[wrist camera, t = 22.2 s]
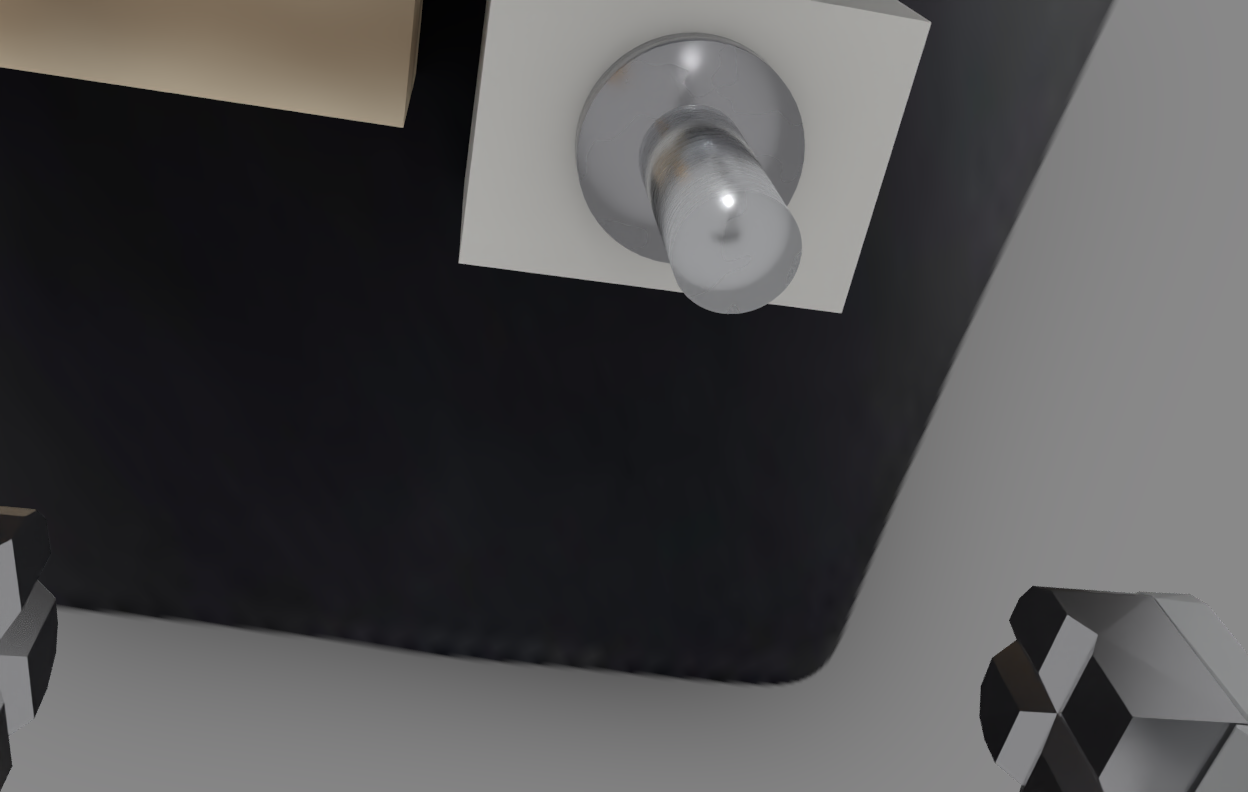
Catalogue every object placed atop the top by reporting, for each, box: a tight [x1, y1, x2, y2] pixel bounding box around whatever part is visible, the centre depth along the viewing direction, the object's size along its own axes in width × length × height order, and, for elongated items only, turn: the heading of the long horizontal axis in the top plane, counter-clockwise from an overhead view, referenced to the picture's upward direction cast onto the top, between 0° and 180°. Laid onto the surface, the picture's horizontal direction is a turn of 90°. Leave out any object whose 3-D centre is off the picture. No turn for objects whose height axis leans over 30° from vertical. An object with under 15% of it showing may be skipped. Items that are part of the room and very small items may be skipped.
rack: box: [459, 0, 931, 313], centre depth 35 cm, size 9×12×7 cm
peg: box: [575, 32, 805, 314], centre depth 32 cm, size 6×6×14 cm
